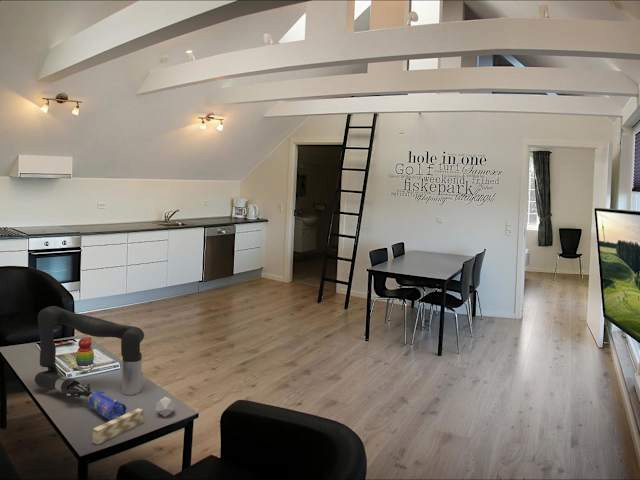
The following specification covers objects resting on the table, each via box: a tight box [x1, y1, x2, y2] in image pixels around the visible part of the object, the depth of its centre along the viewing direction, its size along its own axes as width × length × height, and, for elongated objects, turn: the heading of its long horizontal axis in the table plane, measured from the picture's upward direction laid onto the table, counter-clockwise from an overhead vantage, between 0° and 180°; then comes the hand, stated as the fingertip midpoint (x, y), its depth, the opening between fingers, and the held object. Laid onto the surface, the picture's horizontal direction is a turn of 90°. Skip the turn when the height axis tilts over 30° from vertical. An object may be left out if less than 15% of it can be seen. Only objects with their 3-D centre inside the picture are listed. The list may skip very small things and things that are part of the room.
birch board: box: [92, 407, 144, 445], centre depth 223 cm, size 24×3×6 cm, turn 151°
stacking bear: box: [75, 336, 95, 366], centre depth 289 cm, size 11×10×18 cm
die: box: [155, 396, 175, 418], centre depth 241 cm, size 8×9×10 cm
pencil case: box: [86, 390, 128, 421], centre depth 237 cm, size 22×9×10 cm, turn 51°
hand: (90, 394), depth 242 cm, fingers closed
